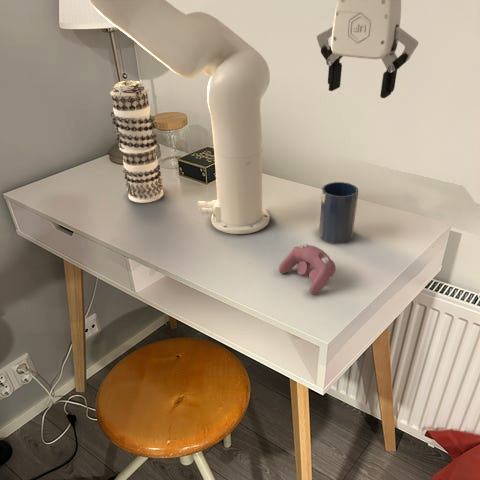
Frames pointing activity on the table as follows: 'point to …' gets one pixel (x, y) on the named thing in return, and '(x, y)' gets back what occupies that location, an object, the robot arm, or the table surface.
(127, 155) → the decorative candle
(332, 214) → the cup
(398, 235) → the table surface
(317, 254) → the video game controller
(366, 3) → the robot arm
